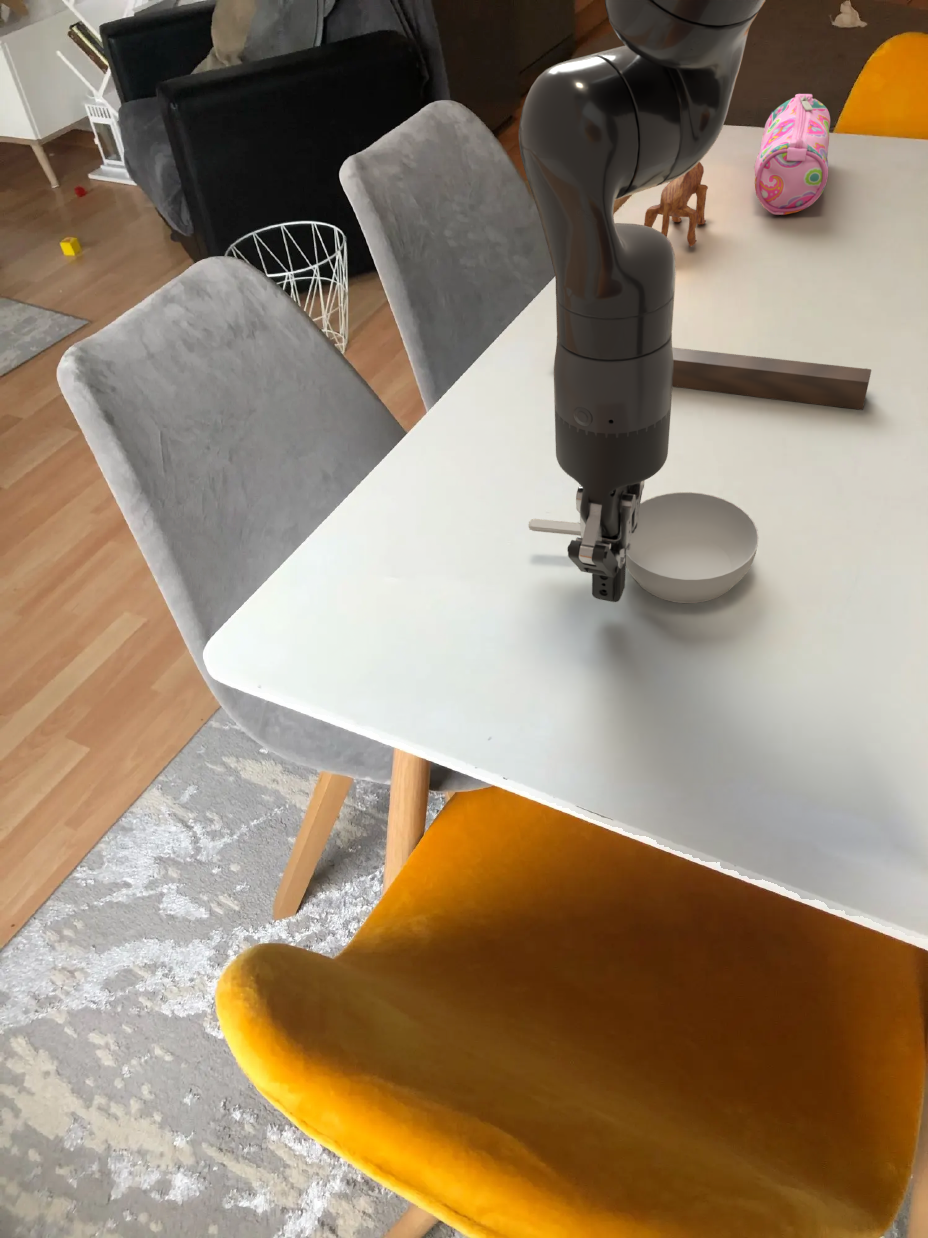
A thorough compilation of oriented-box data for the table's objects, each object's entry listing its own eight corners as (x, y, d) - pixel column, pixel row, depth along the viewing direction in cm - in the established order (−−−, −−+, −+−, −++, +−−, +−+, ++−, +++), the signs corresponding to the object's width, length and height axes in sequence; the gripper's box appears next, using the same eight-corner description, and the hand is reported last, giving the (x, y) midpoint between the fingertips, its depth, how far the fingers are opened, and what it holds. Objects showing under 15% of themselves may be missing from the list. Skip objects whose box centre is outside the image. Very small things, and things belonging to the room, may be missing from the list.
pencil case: (760, 156, 137) (768, 87, 131) (828, 157, 135) (839, 86, 129) (746, 218, 123) (754, 144, 117) (821, 220, 121) (833, 145, 114)
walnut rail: (865, 396, 93) (871, 369, 90) (862, 410, 91) (868, 382, 89) (568, 361, 102) (567, 335, 100) (560, 372, 101) (560, 346, 99)
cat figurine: (676, 277, 114) (684, 156, 104) (623, 270, 116) (626, 151, 107) (720, 215, 125) (731, 101, 115) (671, 210, 127) (677, 98, 118)
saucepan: (754, 617, 73) (760, 580, 70) (521, 601, 77) (518, 566, 74) (752, 528, 80) (758, 491, 78) (540, 517, 84) (538, 482, 82)
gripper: (644, 463, 57) (634, 664, 69) (692, 353, 65) (676, 549, 77) (524, 445, 59) (534, 642, 71) (585, 342, 68) (586, 534, 80)
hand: (608, 594), depth 74 cm, fingers closed
